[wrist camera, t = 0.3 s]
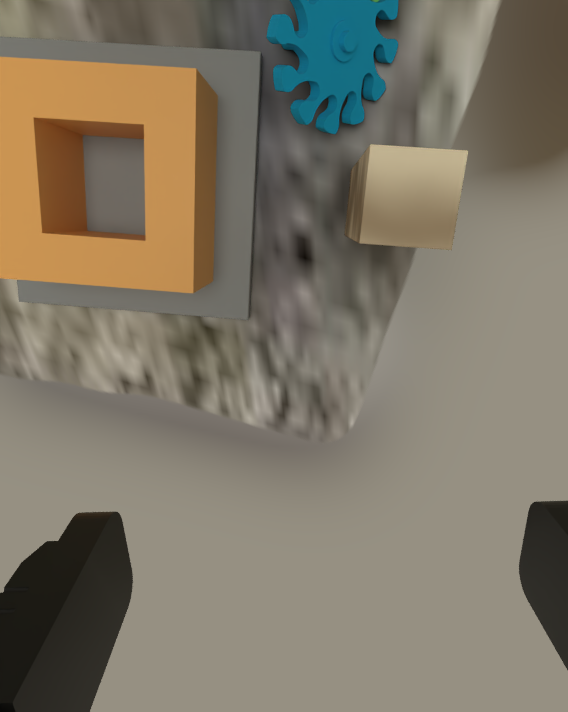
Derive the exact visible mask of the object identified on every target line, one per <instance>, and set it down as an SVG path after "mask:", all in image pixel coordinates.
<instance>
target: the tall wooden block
mask: <svg viewBox="0 0 568 712" xmlns="http://www.w3.org/2000/svg"><path fill="white" fill-rule="evenodd" d="M467 154H468V151H464V150H449V149H433V148H418V147H403V146H387V145H372V144H370V146H369V147H368V148H367V150H366V151H365V152H364V154H363V155H362V156H361V158H360V159H359V160H358V162H357V163H356V164H355V166H354V167H353V168H352V170H351V178H350V187H349V197H348V207H347V217H346V227H345V236H347V237H349V238H351V239H352V240H354V241H356V242H358V243H362V244H376V245H389V246H403V247H416V248H430V249H445V250H452V245H453V239H454V232H455V226H456V221H457V215H458V209H459V203H460V197H461V190H462V184H463V179H464V173H465V167H466V161H467Z"/></svg>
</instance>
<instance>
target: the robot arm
mask: <svg viewBox="0 0 568 712" xmlns="http://www.w3.org/2000/svg"><path fill="white" fill-rule="evenodd" d="M519 574H520V580H521V584H522V587H523V590H524V593H525V595H526V598H527V600H528V602H529V603H530V605H531V607H532V609H533V610H534V612H535V614H536V616H537V617H538V619H539V621H540V623H541V624H542V626H543V628H544V630H545V631H546V633H547V635H548V637H549V638H550V640H551V642H552V643H553V645H554V647H555V649H556V651H557V652H558V654H559V656H560V658H561V659H562V661H563V663H564V665H565V666H566V668H567V670H568V501H545V502H544V501H543V502H534V503H532V505H531V506H530V508H529V512H528V517H527V523H526V528H525V534H524V539H523V545H522V551H521V556H520V562H519ZM132 577H133V576H132V568H131V563H130V558H129V553H128V548H127V542H126V538H125V533H124V527H123V522H122V518H121V516H120V514H119V513H118V512H90V513H89V512H86V513H78V514H76V515H75V516H74V517H73V518H72V520H71V521H70V523H69V525H68V526H67V528H66V530H65V531H64V533H63V534H62V536H61V537H60V539H59V541H47V542H45V543H44V544H43V545H42V546H41V547H39V549H37V550H36V551H35V552H34V553H32V554H31V555H30V556H29V557H28V558H26V559H25V560H24V561H23V562H22V563H21V564H20V566H19V567H18V568H17V570H16V571H15V573H14V574H13V576H12V577H11V579H10V580H9V582H8V583H7V584H6V586H5V587H4V592H3V593H0V712H90V709H91V706H92V703H93V701H94V698H95V696H96V693H97V690H98V687H99V685H100V682H101V679H102V677H103V674H104V671H105V669H106V666H107V663H108V660H109V658H110V655H111V652H112V649H113V647H114V644H115V641H116V639H117V636H118V633H119V631H120V628H121V625H122V623H123V620H124V617H125V614H126V612H127V609H128V606H129V603H130V599H131V592H132V583H133V580H132V579H133V578H132Z"/></svg>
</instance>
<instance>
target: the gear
mask: <svg viewBox="0 0 568 712" xmlns="http://www.w3.org/2000/svg"><path fill="white" fill-rule="evenodd" d="M290 1H291V3H292V5H293V7H294V9H295V12H296V15H297V19H298V23H299V31H294V27H293V23H292V21H291V19H290V17H289V16H287V15H285V14H279V15H273V16H272V17H271V20H270V22H269V26H268V31H267V39H268V40H269V41H270V42H271V43H273V44H281V45H282V47H283V48H284V49H286V50H294V52H295V53H296V54H297V55H298V57H299V61H300V64H299V68H298V70H297V71H296V70H295V69H294V68H293V67H292V66H290V65H277V66H275V67H274V69H273V80H274V86H275V90H277V91H283V92H290V91H292V90H293V89H294V88H295V87H296V86H297V85H298V84H300V83H301V82H304V81H308V82H309V84H310V86H311V93H310V96H309V97H308V98H307V99H306V100H295V101H294V102H293V103H292V105H291V107H290V109H291V113H292V115H293V117H294V119H295V120H296V121H297V123H299V124H304V125H307V124H309V123H311V121H312V120H313V118H314V114H315V112H316V110H317V108H318V106H319V105H320V103H321V102H322V101H323V100H324V99H326V98H327V97H328V100H329V103H328V107H327V109H326V110H325V111H324V112H322V113H321V114H320V115H319V116H318V118H317V120H316V128H317V129H319V130H320V131H322V132H326V133H331V134H336V133H337V131H338V128H339V115H340V110H341V107H342V104H343V102H344V100H345V98H346V96H347V95H348V101H347V104H346V106H345V107H344V109H343V112H342V122H343V123H347V124H353V125H354V124H358V123H360V122H362V121H363V120H364V109H363V107H362V102H361V89H362V82H363V78H364V87H363V95H364V98H365V99H366V100H373V101H376V100H377V99H379V98H380V96H381V95H382V94H383V92H384V91H385V89H386V86H385V82H384V80H383V79H381V78H380V77H379V75H378V73H377V71H376V69H375V64H374V58H373V53H374V49H375V54H376V59H377V60H378V62H380V63H392V61H393V60H394V57H395V55H396V52H397V48H398V42H397V41H396V40H395V39H386V38H384V37H383V36H382V35H381V34H380V33H379V31H378V30H377V28H376V25H375V19H376V15H377V16H378V18H379V19H381V20H393V19H395V18H396V17H397V13H398V0H290Z"/></svg>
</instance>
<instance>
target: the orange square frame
mask: <svg viewBox="0 0 568 712" xmlns="http://www.w3.org/2000/svg"><path fill="white" fill-rule="evenodd" d="M261 72H262V54H261V52H260V51H242V50H225V49H208V48H190V47H173V46H155V45H138V44H120V43H103V42H85V41H68V40H51V39H33V38H16V37H0V278H5V279H17V285H18V296H19V302H32V303H44V304H56V305H68V306H81V307H93V308H105V309H118V310H130V311H142V312H155V313H167V314H179V315H192V316H204V317H216V318H229V319H241V320H248V319H249V317H250V298H251V277H252V257H253V236H254V216H255V195H256V175H257V154H258V134H259V113H260V93H261Z"/></svg>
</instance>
